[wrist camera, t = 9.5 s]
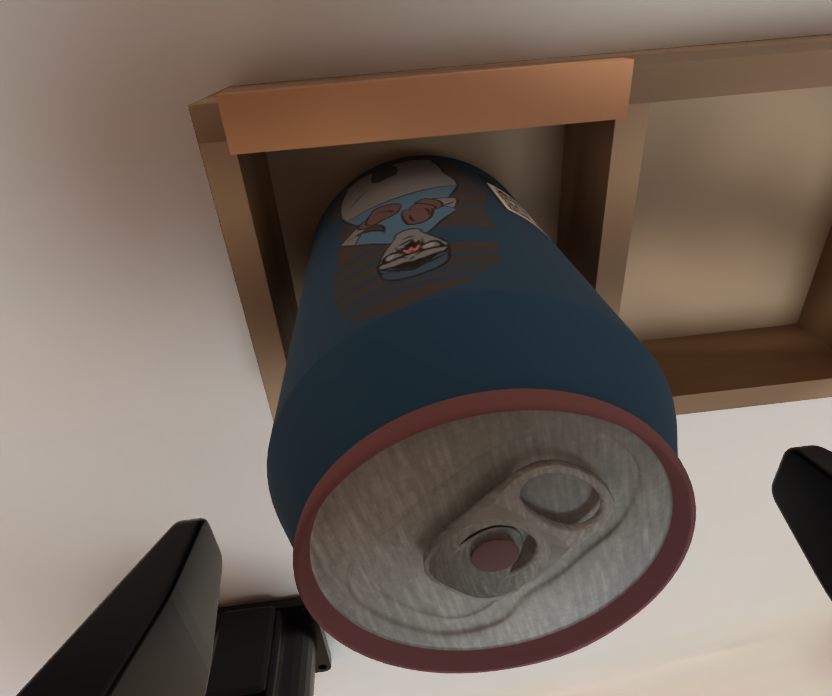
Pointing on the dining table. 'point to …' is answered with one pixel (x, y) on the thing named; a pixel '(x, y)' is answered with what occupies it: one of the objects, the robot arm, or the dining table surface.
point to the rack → (577, 193)
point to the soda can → (468, 434)
